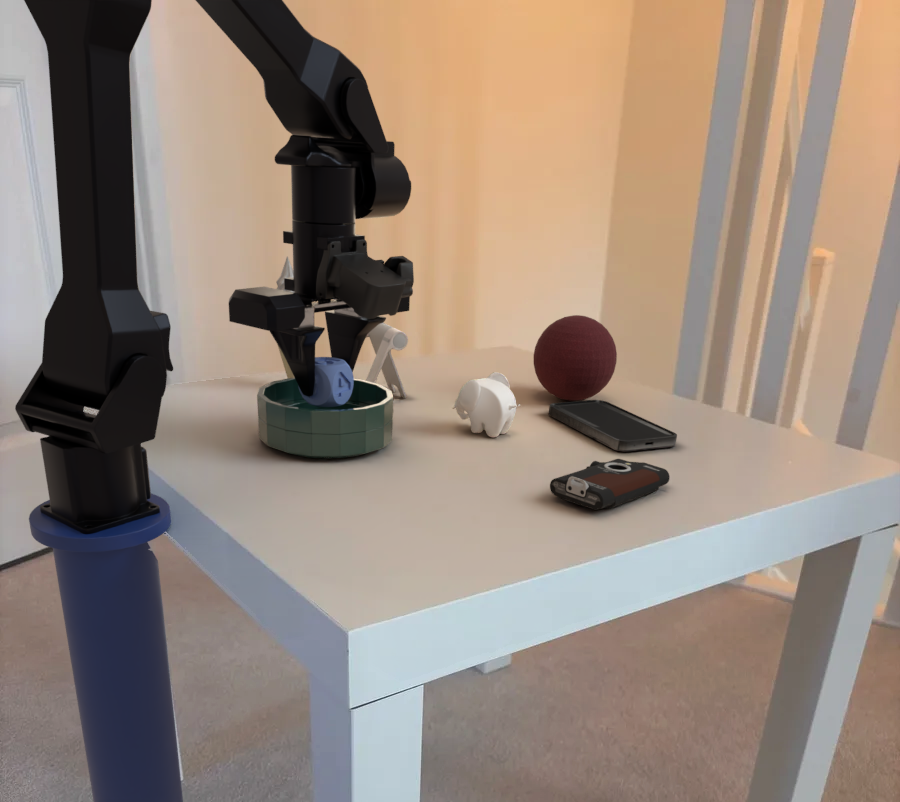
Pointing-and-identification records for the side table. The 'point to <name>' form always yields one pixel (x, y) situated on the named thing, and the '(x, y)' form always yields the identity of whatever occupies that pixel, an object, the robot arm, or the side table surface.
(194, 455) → the side table surface
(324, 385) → the decorative dice
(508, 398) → the elephant figurine
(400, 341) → the tablet stand
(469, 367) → the side table surface
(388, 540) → the side table surface
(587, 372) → the decorative ball
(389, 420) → the bowl
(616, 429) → the phone
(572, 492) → the camera
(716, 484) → the side table surface
